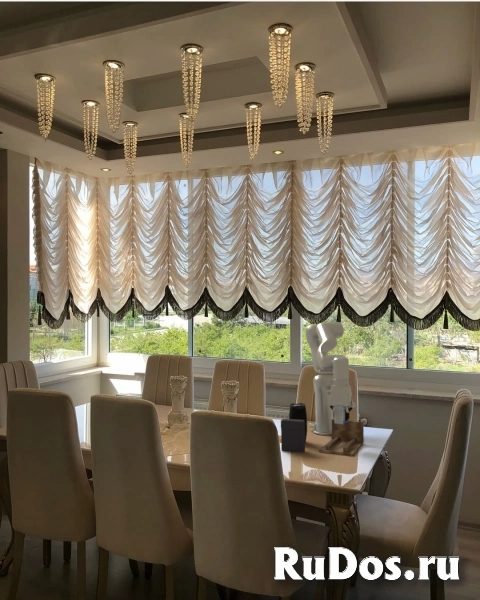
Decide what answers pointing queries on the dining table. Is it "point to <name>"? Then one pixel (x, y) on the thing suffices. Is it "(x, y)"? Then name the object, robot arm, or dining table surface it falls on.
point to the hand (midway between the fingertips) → (341, 419)
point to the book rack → (345, 438)
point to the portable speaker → (299, 414)
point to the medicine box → (339, 414)
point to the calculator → (293, 435)
